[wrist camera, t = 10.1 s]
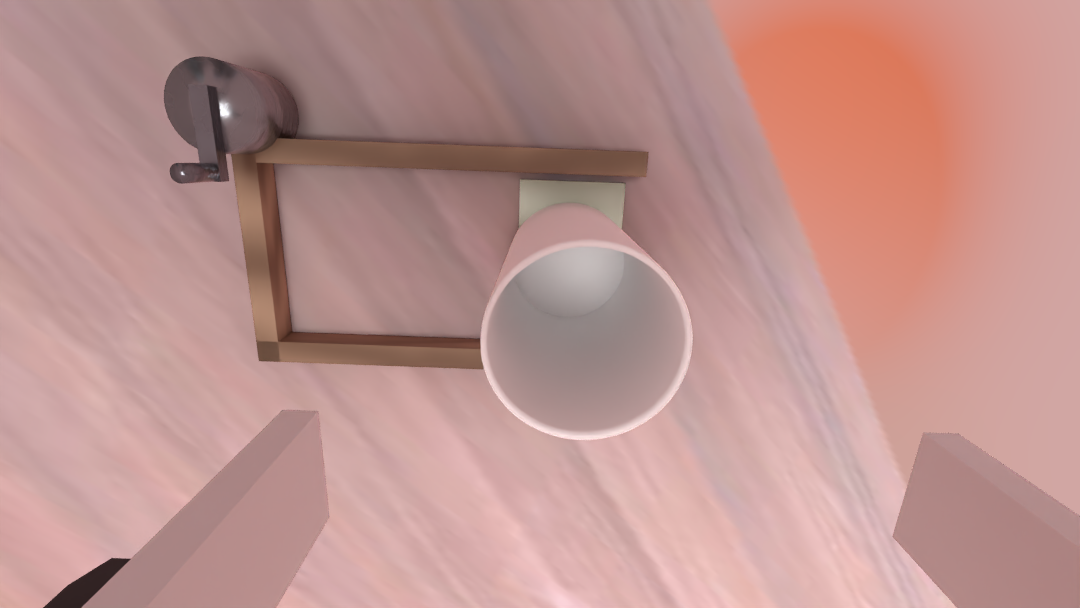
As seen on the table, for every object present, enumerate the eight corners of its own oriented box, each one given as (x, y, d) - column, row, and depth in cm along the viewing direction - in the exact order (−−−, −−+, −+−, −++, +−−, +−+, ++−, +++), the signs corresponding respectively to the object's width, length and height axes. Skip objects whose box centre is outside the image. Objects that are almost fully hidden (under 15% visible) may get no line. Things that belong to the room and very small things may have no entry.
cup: (652, 258, 34) (739, 339, 19) (571, 341, 36) (590, 477, 21) (564, 176, 33) (581, 192, 17) (484, 267, 34) (435, 354, 19)
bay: (247, 138, 33) (228, 136, 31) (642, 152, 33) (648, 151, 31) (273, 350, 37) (259, 360, 35) (623, 363, 37) (627, 374, 35)
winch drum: (215, 70, 31) (105, 41, 24) (294, 73, 31) (210, 45, 24) (229, 176, 33) (132, 181, 25) (304, 179, 33) (229, 185, 25)
